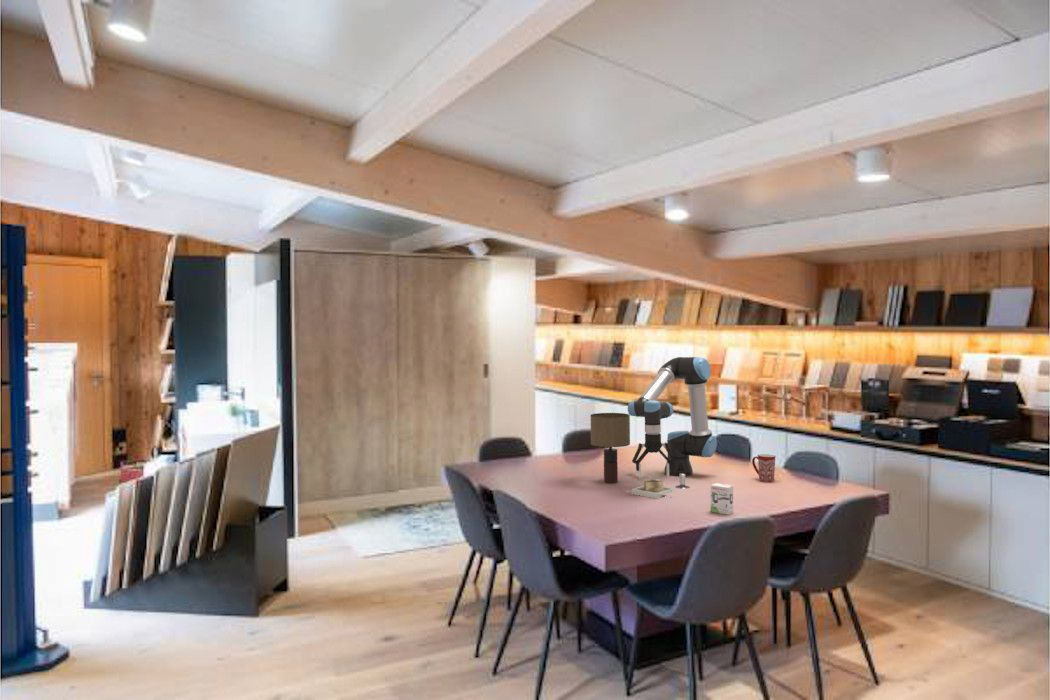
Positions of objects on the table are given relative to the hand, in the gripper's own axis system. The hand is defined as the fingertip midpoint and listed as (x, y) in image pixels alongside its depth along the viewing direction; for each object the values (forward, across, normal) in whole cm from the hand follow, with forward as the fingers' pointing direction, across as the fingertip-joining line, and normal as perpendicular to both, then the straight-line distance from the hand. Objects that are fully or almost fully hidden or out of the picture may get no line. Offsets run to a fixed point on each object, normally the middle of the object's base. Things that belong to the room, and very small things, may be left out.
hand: (653, 477), depth 344 cm
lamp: (+8, -17, +28) cm, 34 cm away
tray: (+8, 0, 0) cm, 8 cm away
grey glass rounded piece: (+8, +15, +7) cm, 18 cm away
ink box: (+8, +22, -37) cm, 44 cm away
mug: (+10, +62, +26) cm, 68 cm away
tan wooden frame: (+7, 0, 0) cm, 7 cm away
